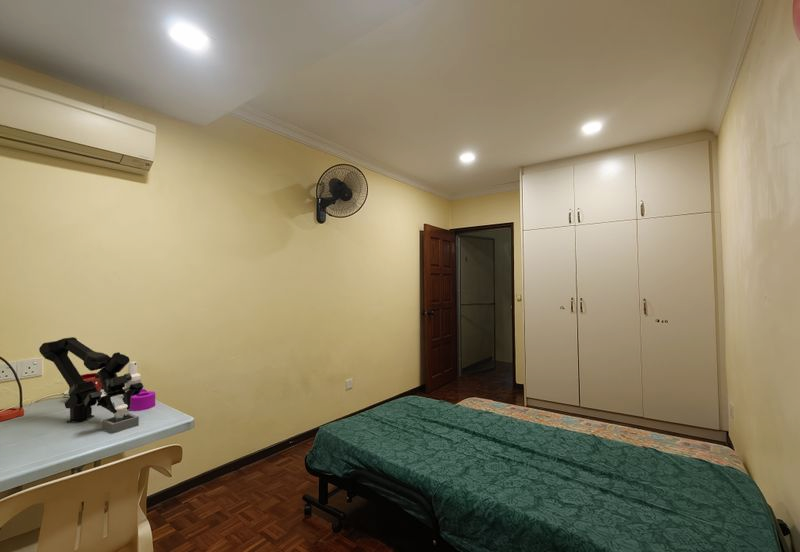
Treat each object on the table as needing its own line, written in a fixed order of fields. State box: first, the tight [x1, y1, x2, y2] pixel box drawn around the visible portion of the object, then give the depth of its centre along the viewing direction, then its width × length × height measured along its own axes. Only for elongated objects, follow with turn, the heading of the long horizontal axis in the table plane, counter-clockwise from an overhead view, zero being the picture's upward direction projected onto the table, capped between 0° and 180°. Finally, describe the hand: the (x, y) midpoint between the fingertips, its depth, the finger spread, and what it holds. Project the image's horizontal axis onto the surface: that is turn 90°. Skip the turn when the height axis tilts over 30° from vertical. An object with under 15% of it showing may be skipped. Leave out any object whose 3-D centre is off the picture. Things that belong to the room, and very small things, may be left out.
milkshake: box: [112, 402, 128, 423], centre depth 142 cm, size 4×5×10 cm
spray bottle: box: [123, 361, 142, 389], centre depth 181 cm, size 7×7×18 cm
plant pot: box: [68, 372, 103, 393], centre depth 177 cm, size 13×13×12 cm
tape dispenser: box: [129, 388, 156, 412], centre depth 168 cm, size 16×10×6 cm, turn 50°
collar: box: [101, 412, 139, 435], centre depth 142 cm, size 9×9×4 cm
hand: (121, 411), depth 142 cm, fingers closed on milkshake, 4 cm apart
